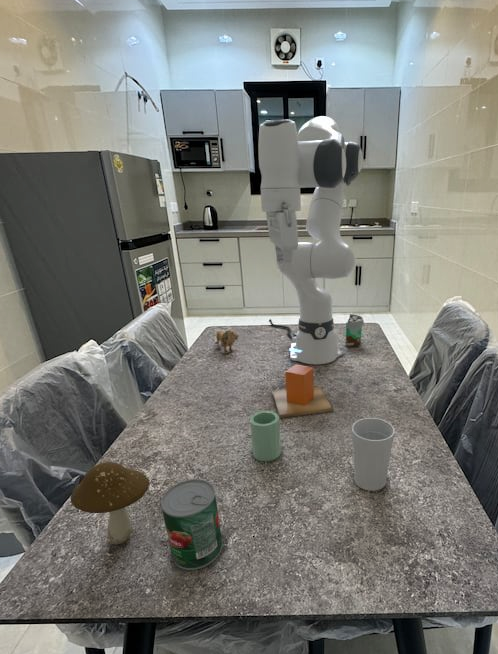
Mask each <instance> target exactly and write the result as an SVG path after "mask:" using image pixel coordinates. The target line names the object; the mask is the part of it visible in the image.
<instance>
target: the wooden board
mask: <svg viewBox="0 0 498 654" xmlns="http://www.w3.org/2000/svg"><path fill="white" fill-rule="evenodd" d="M272 397H273V400H274V404H275V407H276V410H277V414H278V415H279V419H284V418H292V417H297V416H306V415H313V414H321V413H328V412H333V407H332V406H331V403H330V402H329V400H328V399H327V397H326V394H325V392H323V389H322V388H321V386H320V385H314V397H313V398H312V399H311V400H310V401H309V402H308V403H307V404H306V405H305V406H303V405H299V404H295V403H291V402H287V398H286V388H284V389H283V388H282V389H276V390H275V389H274V390H272Z"/></svg>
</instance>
